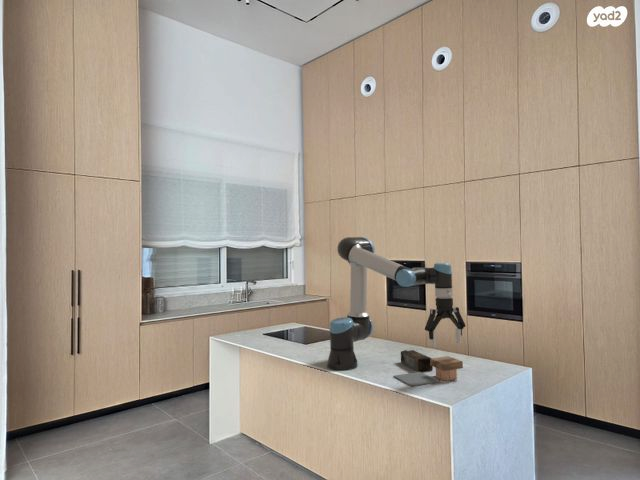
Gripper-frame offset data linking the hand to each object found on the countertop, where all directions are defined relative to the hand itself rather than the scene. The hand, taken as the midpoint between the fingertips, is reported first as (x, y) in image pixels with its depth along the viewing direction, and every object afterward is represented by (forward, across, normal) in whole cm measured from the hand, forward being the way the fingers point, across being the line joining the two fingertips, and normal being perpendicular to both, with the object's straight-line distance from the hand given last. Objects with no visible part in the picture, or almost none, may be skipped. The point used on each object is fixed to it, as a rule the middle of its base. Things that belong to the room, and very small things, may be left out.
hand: (446, 344), depth 191 cm
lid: (+10, 0, 0) cm, 10 cm away
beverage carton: (+15, -2, +22) cm, 26 cm away
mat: (+14, -14, +3) cm, 21 cm away
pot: (+14, 0, 0) cm, 15 cm away
